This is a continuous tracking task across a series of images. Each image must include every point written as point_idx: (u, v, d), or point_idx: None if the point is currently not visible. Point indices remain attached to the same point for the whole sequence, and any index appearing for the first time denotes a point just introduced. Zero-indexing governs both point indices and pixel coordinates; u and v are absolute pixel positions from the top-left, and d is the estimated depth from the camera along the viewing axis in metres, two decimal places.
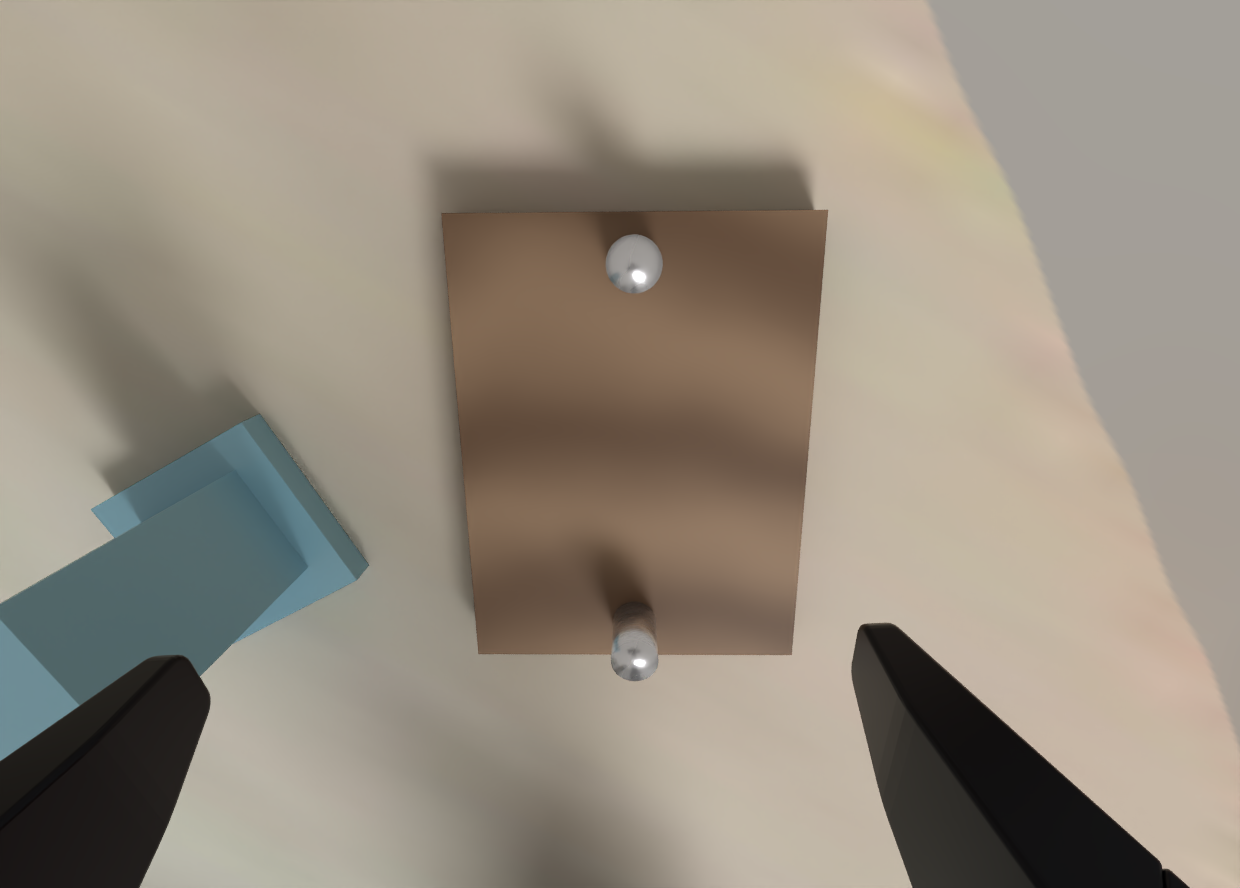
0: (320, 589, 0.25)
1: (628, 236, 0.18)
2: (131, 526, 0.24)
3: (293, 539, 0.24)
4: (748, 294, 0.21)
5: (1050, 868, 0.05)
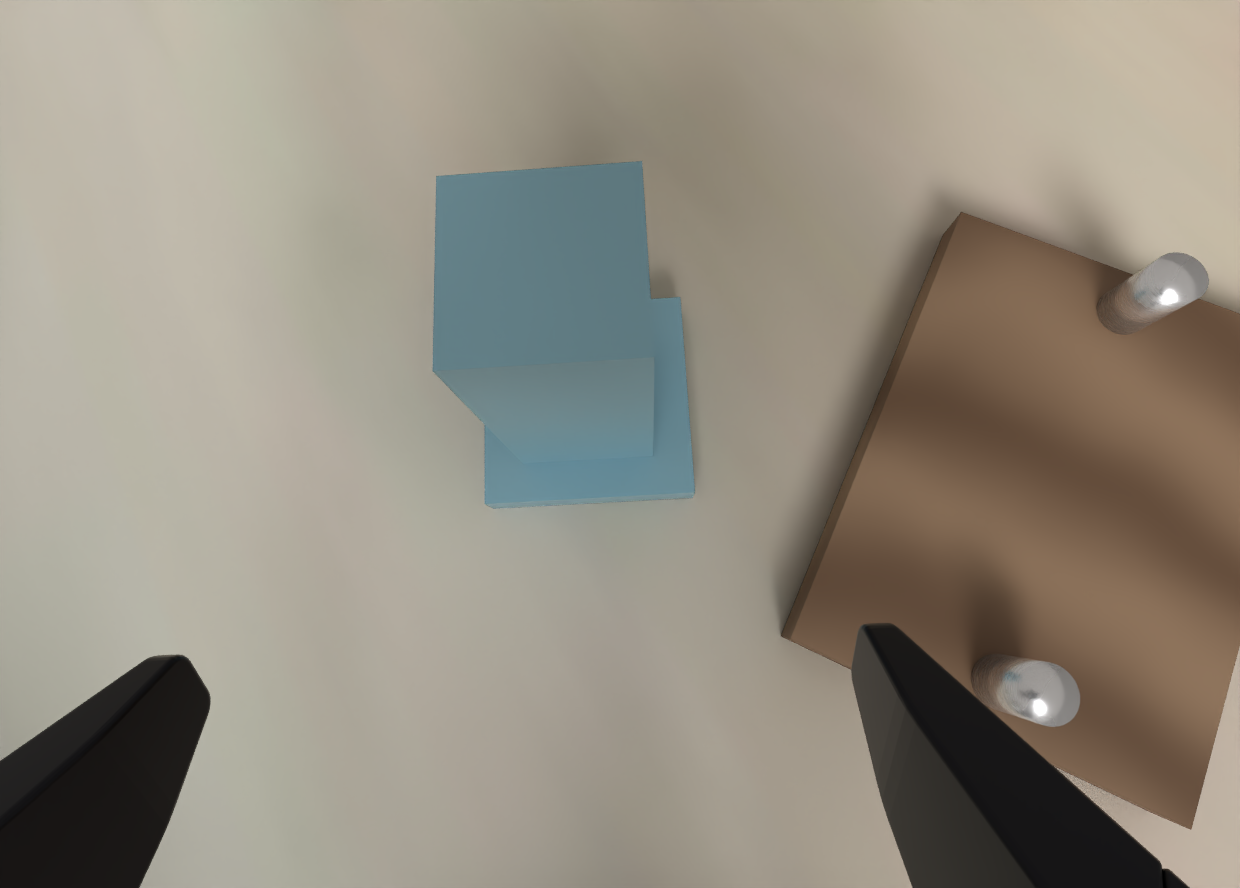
0: (650, 485, 0.22)
1: (1181, 254, 0.20)
2: None
3: (657, 421, 0.22)
4: (1226, 382, 0.21)
5: (1050, 868, 0.05)
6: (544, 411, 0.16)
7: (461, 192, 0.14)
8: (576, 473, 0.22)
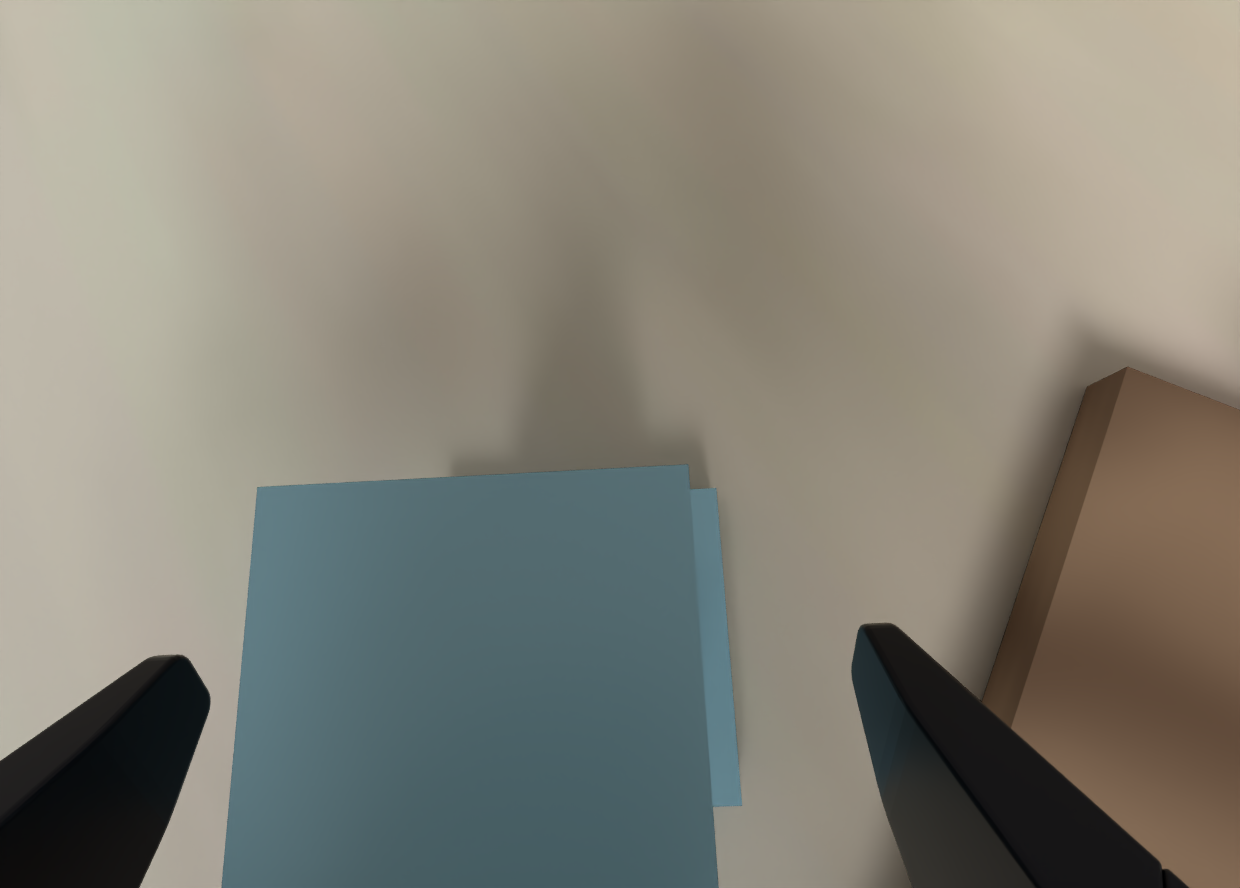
0: None
1: None
2: None
3: None
4: None
5: (1050, 868, 0.05)
6: None
7: (306, 526, 0.07)
8: None
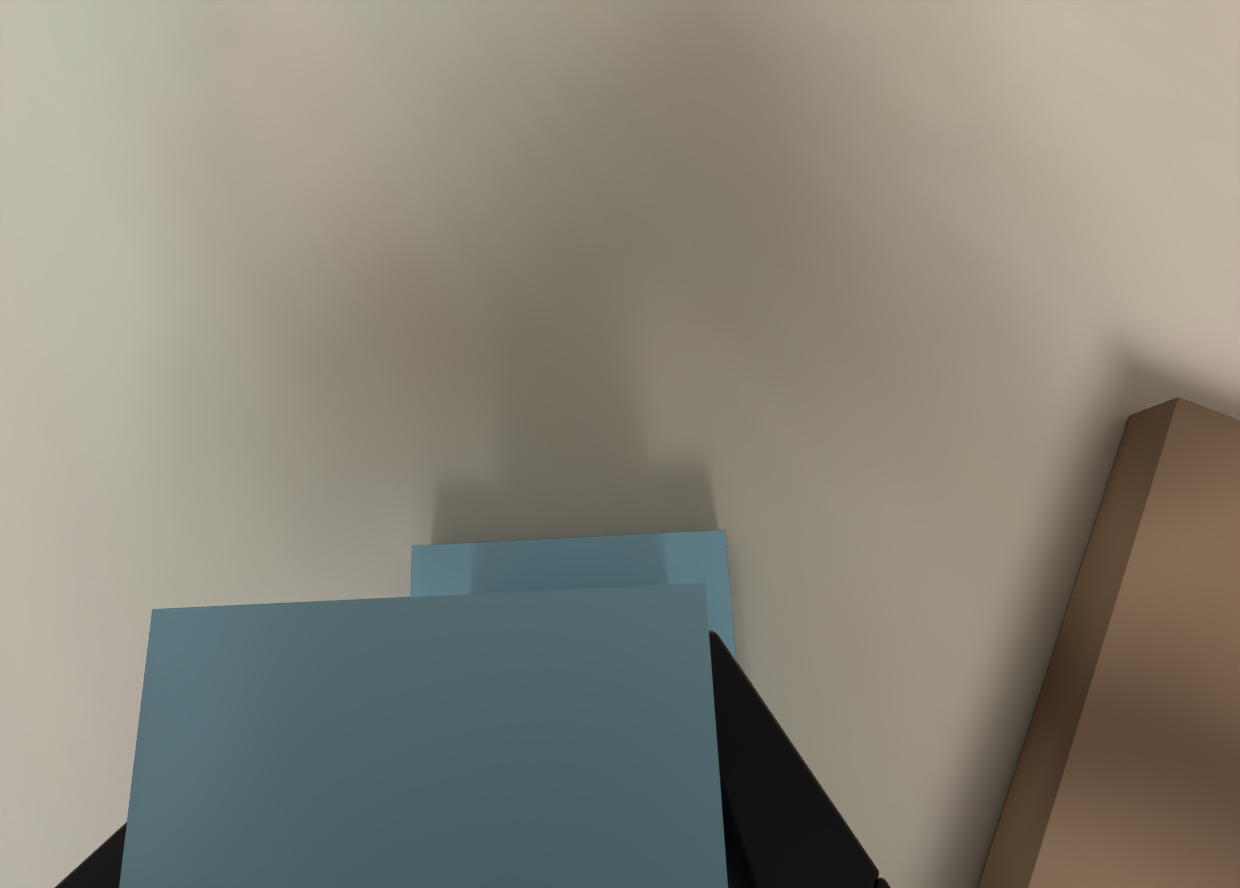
0: None
1: None
2: None
3: None
4: None
5: (769, 877, 0.05)
6: None
7: (213, 663, 0.05)
8: None
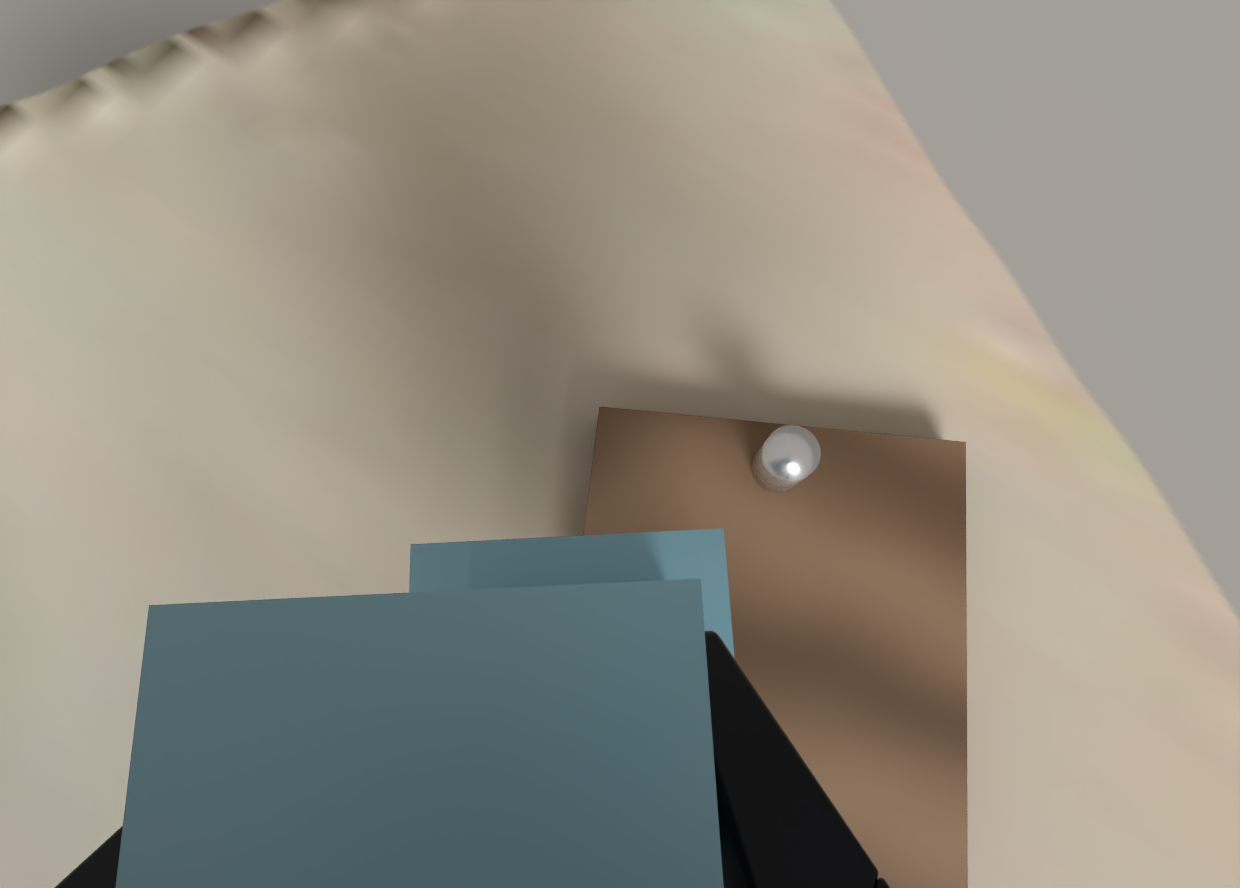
0: None
1: (788, 426, 0.19)
2: None
3: None
4: (890, 512, 0.21)
5: (769, 877, 0.05)
6: None
7: (211, 659, 0.05)
8: None
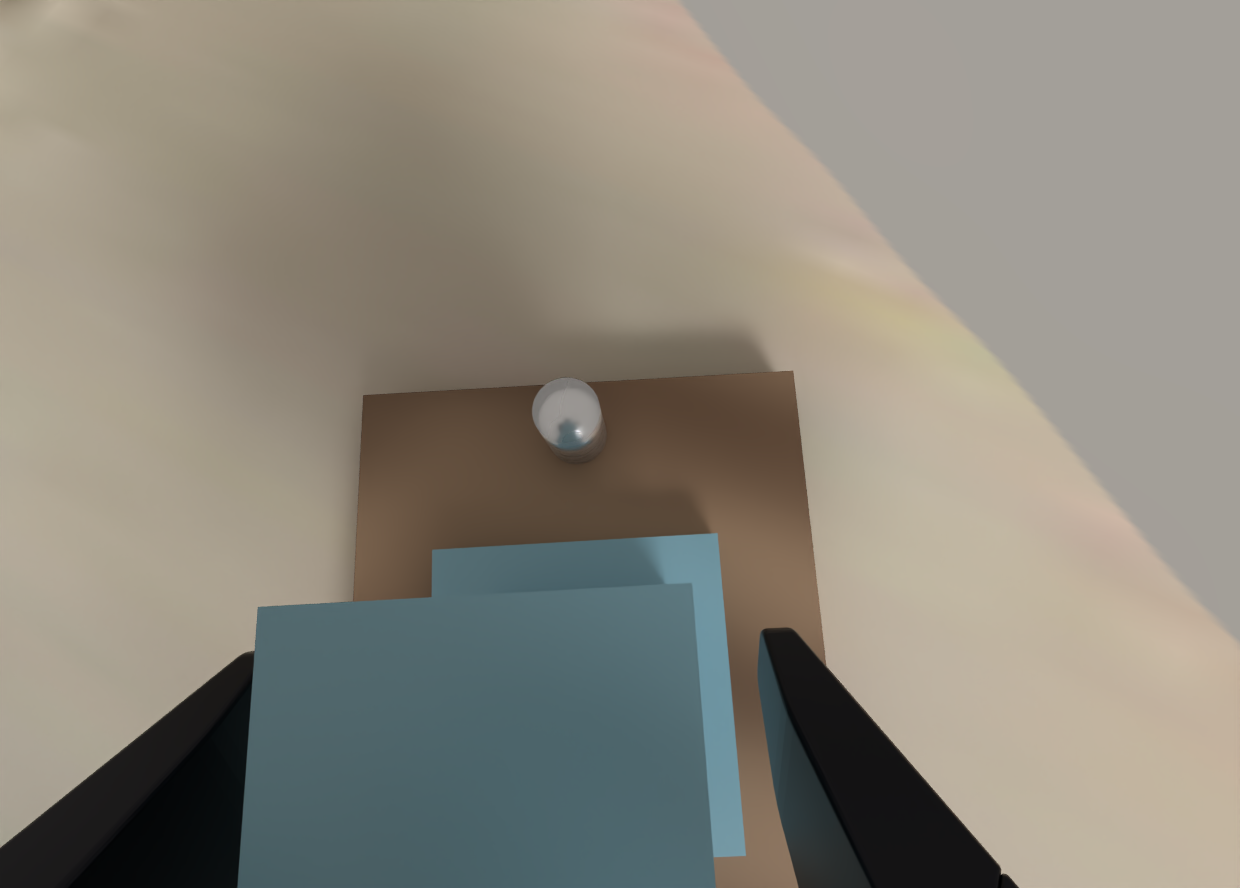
0: None
1: (558, 379, 0.15)
2: None
3: None
4: (715, 466, 0.17)
5: (891, 873, 0.05)
6: None
7: (309, 648, 0.06)
8: None
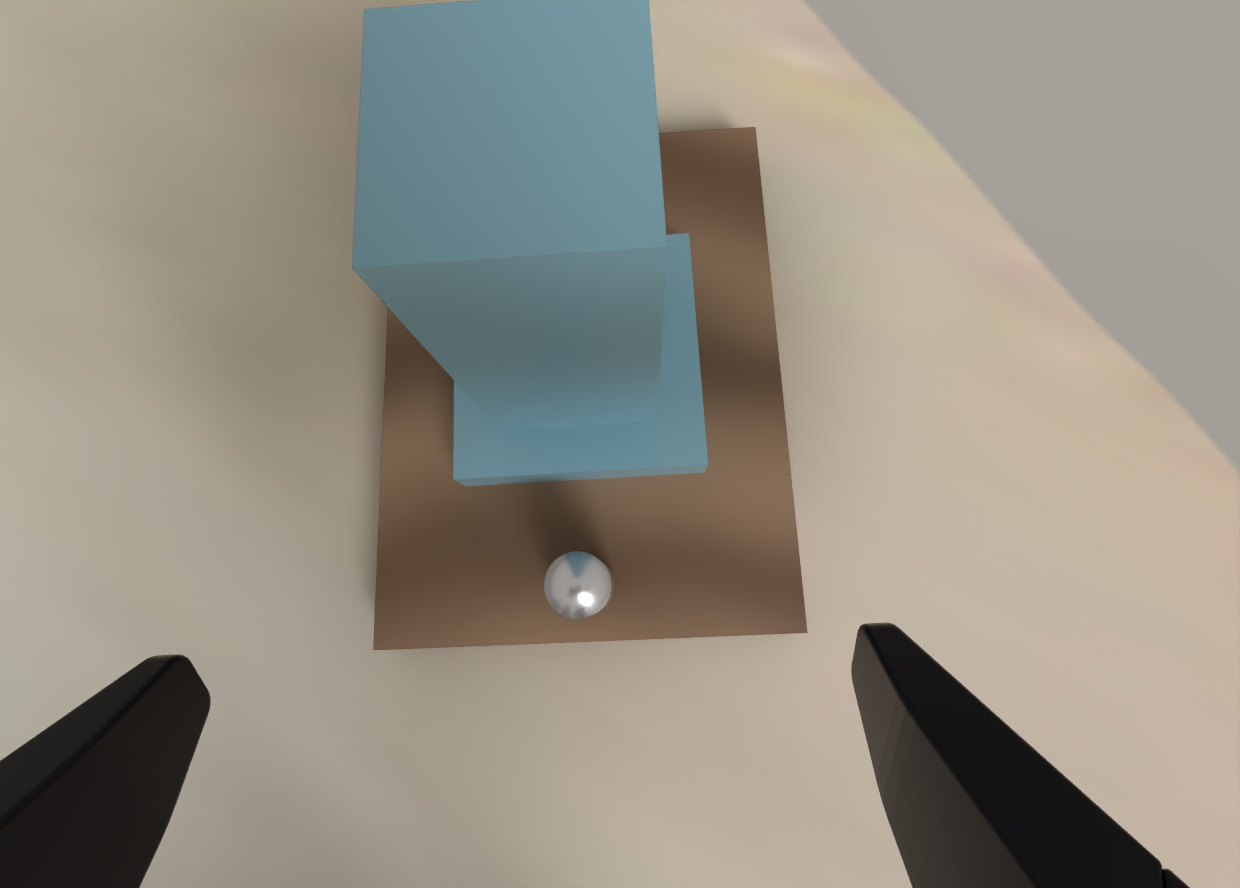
0: (654, 456, 0.18)
1: None
2: None
3: (662, 379, 0.18)
4: (689, 200, 0.21)
5: (1050, 868, 0.05)
6: (518, 346, 0.12)
7: (398, 29, 0.10)
8: (564, 442, 0.18)
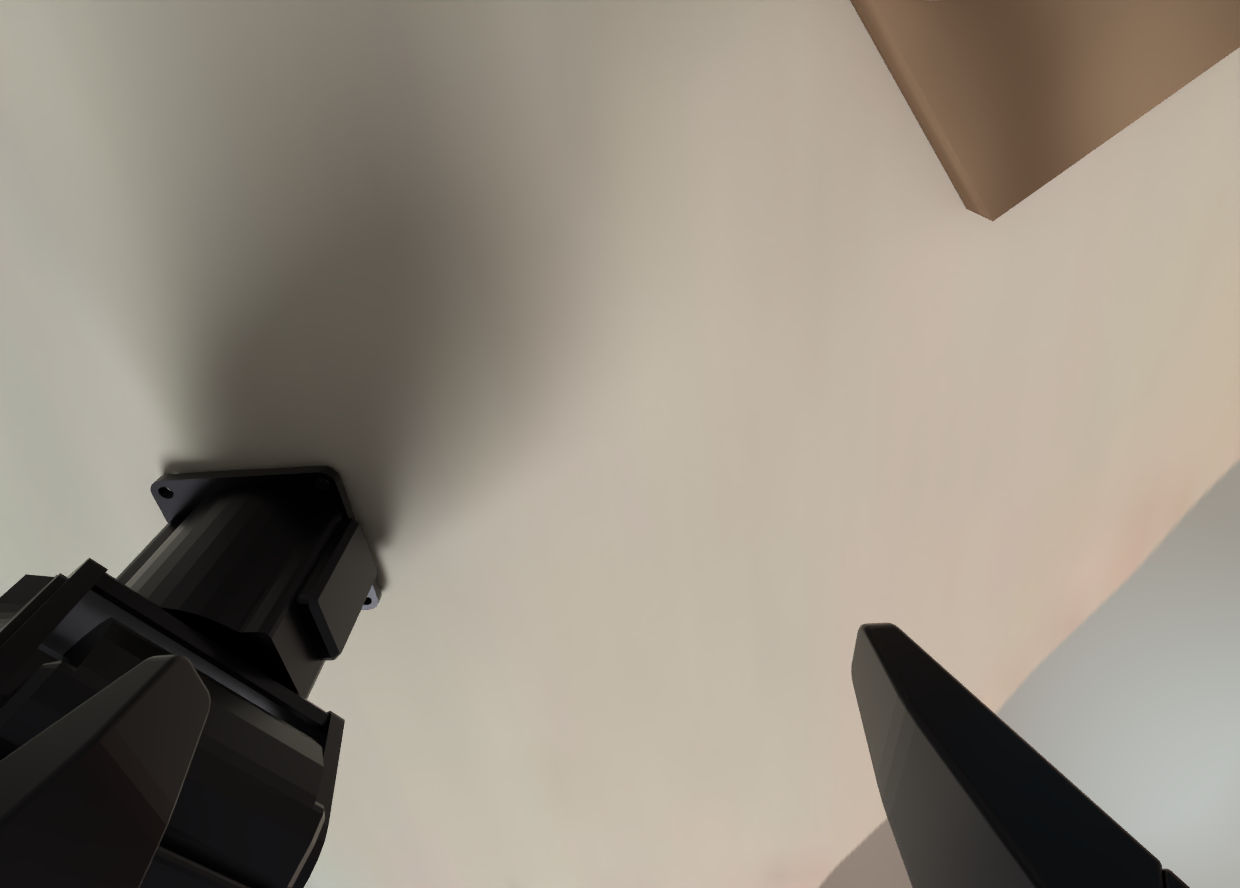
0: None
1: None
2: None
3: None
4: None
5: (1050, 868, 0.05)
6: None
7: None
8: None
